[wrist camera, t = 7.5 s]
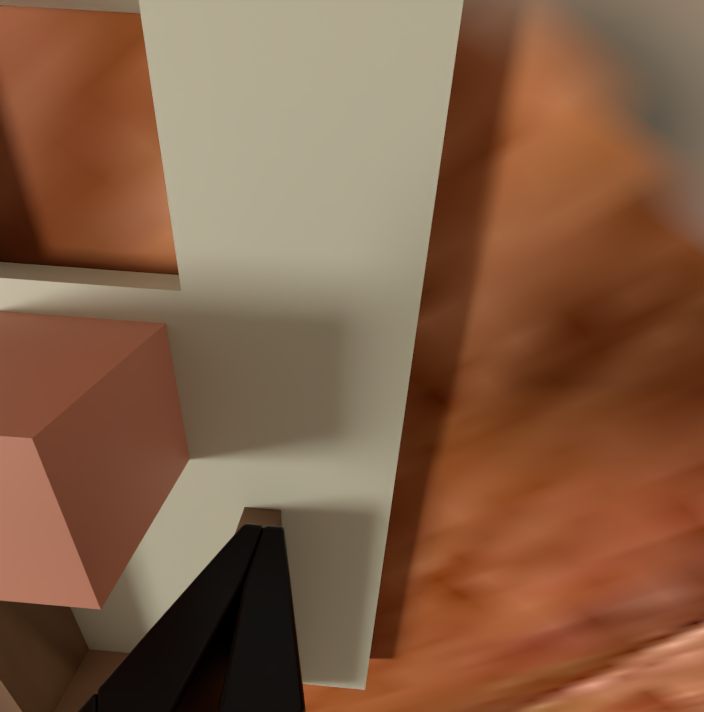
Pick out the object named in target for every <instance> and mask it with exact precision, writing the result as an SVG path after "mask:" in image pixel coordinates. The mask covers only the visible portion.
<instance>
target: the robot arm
mask: <svg viewBox="0 0 704 712" xmlns="http://www.w3.org/2000/svg"><path fill="white" fill-rule="evenodd" d="M77 712H305V701H304V692H303V684H302V675H301V667H300V658H299V649H298V641H297V632H296V623H295V615H294V606H293V597H292V589H291V580H290V572H289V563H288V554H287V546H286V537H285V530H284V527H282V526H274V525H266V526H265V527H264V526H263V525H261V524H251V523H246V524H244V525H243V526H242V527H241V528H240V529H239V530H238V531H237V532H236V533H235V534H234V536H233V537H232V538H231V539H230V540H229V541H228V542H227V543H226V545H225V546H224V547H223V548H222V549H221V550H220V551H219V552H218V554H217V555H216V556H215V557H214V558H213V559H212V560H211V561H210V563H209V564H208V565H207V566H206V567H205V568H204V569H203V570H202V572H201V573H200V574H199V575H198V576H197V577H196V578H195V579H194V581H193V582H192V583H191V584H190V585H189V586H188V587H187V589H186V590H185V591H184V592H183V593H182V594H181V595H180V596H179V598H178V599H177V600H176V601H175V602H174V603H173V604H172V605H171V607H170V608H169V609H168V610H167V611H166V612H165V613H164V614H163V616H162V617H161V618H160V619H159V620H158V621H157V622H156V623H155V625H154V626H153V627H152V628H151V629H150V630H149V631H148V633H147V634H146V635H145V636H144V637H143V638H142V639H141V640H140V642H139V643H138V644H137V645H136V646H135V647H134V648H133V649H132V651H131V652H130V653H129V654H128V655H127V656H126V657H125V658H124V660H123V661H122V662H121V663H120V664H119V665H118V666H117V667H116V669H115V670H114V671H113V672H112V673H111V674H110V675H109V676H108V678H107V679H106V680H105V681H104V682H103V683H102V684H101V686H100V687H99V688H98V690H97V694H96V693H94V694H92V695H91V696H90V698H89V699H88V700H87V701H86V702H85V703H84V704H83V706H82V707H81V708H80V709H79V710H78V711H77Z"/></svg>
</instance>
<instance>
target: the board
mask: <svg viewBox="0 0 704 712" xmlns="http://www.w3.org/2000/svg"><path fill="white" fill-rule="evenodd" d="M463 1H464V0H0V5H5V6H22V7H40V8H57V9H75V10H92V11H110V12H127V13H141V19H142V26H143V33H144V40H145V47H146V54H147V60H148V67H149V74H150V81H151V88H152V94H153V101H154V108H155V115H156V122H157V129H158V135H159V142H160V149H161V156H162V163H163V170H164V176H165V183H166V190H167V197H168V204H169V210H170V217H171V224H172V231H173V238H174V245H175V251H176V258H177V265H178V272H179V275H172V274H158V273H144V272H131V271H117V270H103V269H89V268H76V267H62V266H48V265H35V264H21V263H7V262H0V311H3V312H16V313H30V314H44V315H58V316H72V317H85V318H99V319H113V320H127V321H140V322H154V323H166V328H167V333H168V339H169V345H170V350H171V356H172V362H173V367H174V373H175V379H176V384H177V390H178V396H179V401H180V407H181V413H182V419H183V424H184V430H185V436H186V441H187V447H188V453H189V458H190V460H189V461H188V463H187V465H186V466H185V468H184V470H183V472H182V473H181V475H180V477H179V478H178V480H177V482H176V483H175V485H174V487H173V488H172V490H171V492H170V493H169V495H168V497H167V499H166V500H165V502H164V504H163V505H162V507H161V509H160V510H159V512H158V514H157V515H156V517H155V519H154V521H153V522H152V524H151V526H150V527H149V529H148V531H147V532H146V534H145V536H144V537H143V539H142V541H141V542H140V544H139V546H138V548H137V549H136V551H135V553H134V554H133V556H132V558H131V559H130V561H129V563H128V564H127V566H126V568H125V569H124V571H123V573H122V575H121V576H120V578H119V580H118V581H117V583H116V585H115V586H114V588H113V590H112V591H111V593H110V595H109V597H108V598H107V600H106V602H105V603H104V605H103V607H102V608H101V610H99V609H88V608H77V607H70V608H71V610H72V612H73V615H74V617H75V619H76V621H77V624H78V626H79V628H80V630H81V632H82V635H83V637H84V639H85V641H86V643H87V646H88V648H89V649H92V650H103V651H113V652H123V653H130V652H131V651H132V649H133V648H134V647H135V646H136V645H137V644H138V643H139V642H140V640H141V639H142V638H143V637H144V636H145V635H146V634H147V633H148V631H149V630H150V629H151V628H152V627H153V626H154V625H155V623H156V622H157V621H158V620H159V619H160V618H161V617H162V616H163V614H164V613H165V612H166V611H167V610H168V609H169V608H170V607H171V605H172V604H173V603H174V602H175V601H176V600H177V599H178V598H179V596H180V595H181V594H182V593H183V592H184V591H185V590H186V589H187V587H188V586H189V585H190V584H191V583H192V582H193V581H194V579H195V578H196V577H197V576H198V575H199V574H200V573H201V572H202V570H203V569H204V568H205V567H206V566H207V565H208V564H209V563H210V561H211V560H212V559H213V558H214V557H215V556H216V555H217V554H218V552H219V551H220V550H221V549H222V548H223V547H224V546H225V545H226V543H227V542H228V541H229V540H230V539H231V538H232V537H233V536H234V534H235V532H236V529H237V526H238V524H239V521H240V518H241V515H242V513H243V510H244V507H249V508H260V509H272V510H281V517H282V527H284V530H285V537H286V546H287V554H288V563H289V572H290V580H291V589H292V597H293V606H294V615H295V623H296V632H297V641H298V649H299V658H300V667H301V675H302V684H311V685H322V686H332V687H342V688H352V689H363V690H365V686H366V679H367V672H368V665H369V658H370V651H371V644H372V637H373V630H374V623H375V616H376V609H377V602H378V595H379V588H380V581H381V574H382V567H383V560H384V553H385V546H386V539H387V532H388V525H389V518H390V511H391V504H392V497H393V490H394V483H395V476H396V469H397V462H398V455H399V448H400V441H401V434H402V427H403V420H404V413H405V406H406V399H407V392H408V385H409V378H410V371H411V364H412V357H413V350H414V344H415V337H416V330H417V323H418V316H419V309H420V302H421V295H422V288H423V281H424V274H425V267H426V260H427V253H428V246H429V239H430V232H431V225H432V218H433V211H434V204H435V197H436V190H437V183H438V176H439V169H440V162H441V155H442V148H443V141H444V134H445V127H446V120H447V113H448V106H449V99H450V92H451V85H452V78H453V71H454V64H455V57H456V50H457V43H458V36H459V29H460V22H461V15H462V8H463Z"/></svg>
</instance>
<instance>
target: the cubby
mask: <svg viewBox="0 0 704 712" xmlns="http://www.w3.org/2000/svg"><path fill="white" fill-rule="evenodd" d="M246 523H251V524H261V525H263V526H264V527H265V526H266V525H274V526H282V517H281V510H272V509H260V508H249V507H244V510H243V513H242V515H241V518H240V521H239V524H238V526H237V529H236V532H237V531H238V530H239V529H240V528H241V527H242V526H243V525H244V524H246ZM236 532H235V533H236ZM128 654H129V653H123V652H113V651H103V650H92V649H89V648H88V646H87V643H86V641H85V639H84V637H83V635H82V632H81V630H80V628H79V626H78V624H77V621H76V619H75V617H74V615H73V612H72V610H71V608H70V607H66V606H56V605H45V604H34V603H23V602H12V601H1V600H0V712H77V711H78V710H79V709H80V708H81V707H82V706H83V704H84V703H85V702H86V701H87V700H88V699H89V698H90V696H91V695H92V694H94V693H96V694H97V690H98V688H99V687H100V686H101V684H102V683H103V682H104V681H105V680H106V679H107V678H108V676H109V675H110V674H111V673H112V672H113V671H114V670H115V669H116V667H117V666H118V665H119V664H120V663H121V662H122V661H123V660H124V658H125V657H126V656H127V655H128Z"/></svg>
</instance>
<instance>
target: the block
mask: <svg viewBox="0 0 704 712" xmlns="http://www.w3.org/2000/svg"><path fill="white" fill-rule="evenodd" d="M189 460H190V458H189V453H188V447H187V441H186V436H185V430H184V424H183V419H182V413H181V407H180V401H179V396H178V390H177V384H176V379H175V373H174V367H173V362H172V356H171V350H170V345H169V339H168V333H167V328H166V323H154V322H140V321H127V320H113V319H99V318H85V317H72V316H58V315H44V314H30V313H16V312H3V311H0V600H1V601H12V602H23V603H34V604H45V605H56V606H66V607H77V608H88V609H99V610H101V608H102V607H103V605H104V603H105V602H106V600H107V598H108V597H109V595H110V593H111V591H112V590H113V588H114V586H115V585H116V583H117V581H118V580H119V578H120V576H121V575H122V573H123V571H124V569H125V568H126V566H127V564H128V563H129V561H130V559H131V558H132V556H133V554H134V553H135V551H136V549H137V548H138V546H139V544H140V542H141V541H142V539H143V537H144V536H145V534H146V532H147V531H148V529H149V527H150V526H151V524H152V522H153V521H154V519H155V517H156V515H157V514H158V512H159V510H160V509H161V507H162V505H163V504H164V502H165V500H166V499H167V497H168V495H169V493H170V492H171V490H172V488H173V487H174V485H175V483H176V482H177V480H178V478H179V477H180V475H181V473H182V472H183V470H184V468H185V466H186V465H187V463H188V461H189Z"/></svg>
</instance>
